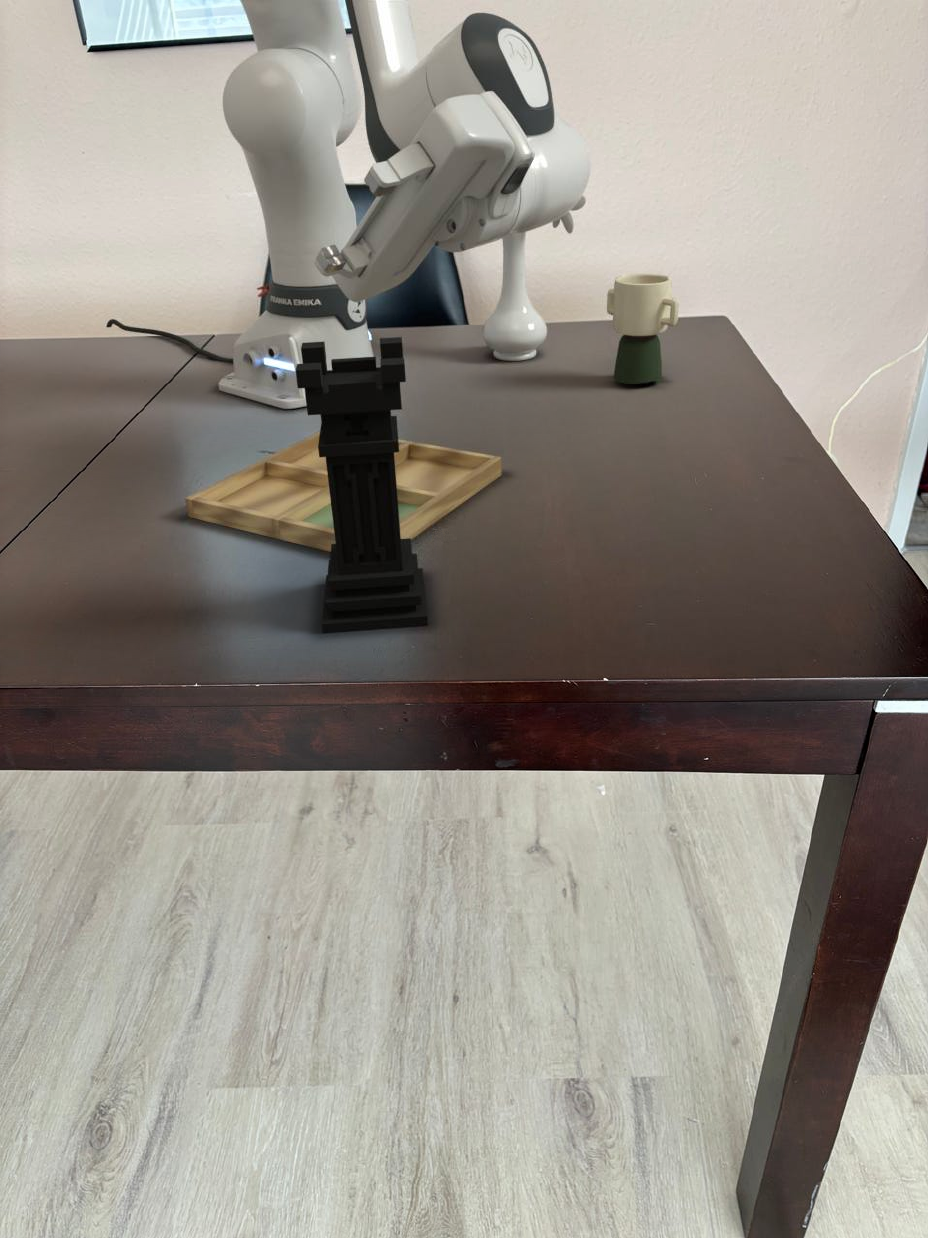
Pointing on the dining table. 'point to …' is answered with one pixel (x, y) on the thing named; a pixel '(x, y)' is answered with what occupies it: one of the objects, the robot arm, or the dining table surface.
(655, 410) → the dining table surface
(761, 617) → the dining table surface
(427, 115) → the robot arm
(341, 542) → the chess piece
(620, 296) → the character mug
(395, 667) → the dining table surface
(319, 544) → the grid
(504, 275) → the flower vase
